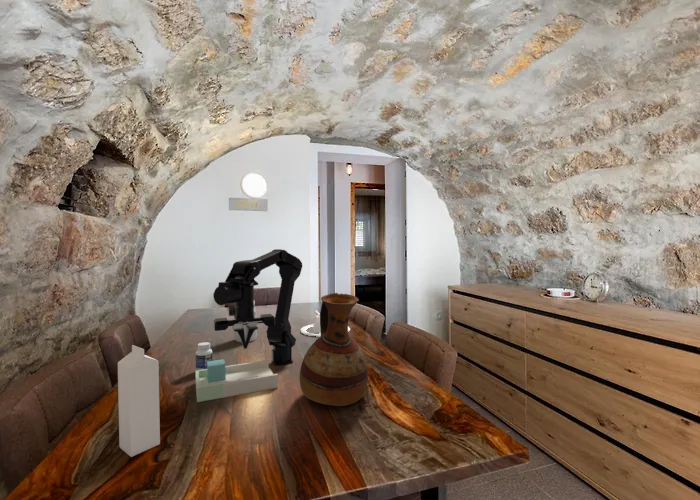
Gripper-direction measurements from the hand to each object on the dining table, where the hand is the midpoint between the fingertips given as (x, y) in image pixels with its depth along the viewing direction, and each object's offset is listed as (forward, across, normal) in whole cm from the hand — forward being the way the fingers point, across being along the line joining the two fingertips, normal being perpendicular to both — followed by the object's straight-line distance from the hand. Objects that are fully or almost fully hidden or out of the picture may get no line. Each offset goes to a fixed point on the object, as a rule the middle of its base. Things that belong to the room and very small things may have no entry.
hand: (245, 348), depth 114 cm
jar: (+10, -7, -48) cm, 50 cm away
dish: (+11, -46, -48) cm, 67 cm away
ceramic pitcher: (+11, -21, +24) cm, 34 cm away
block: (+8, +9, 0) cm, 12 cm away
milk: (+11, +27, +28) cm, 40 cm away
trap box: (+10, +3, +3) cm, 11 cm away
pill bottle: (+11, +12, -14) cm, 21 cm away
